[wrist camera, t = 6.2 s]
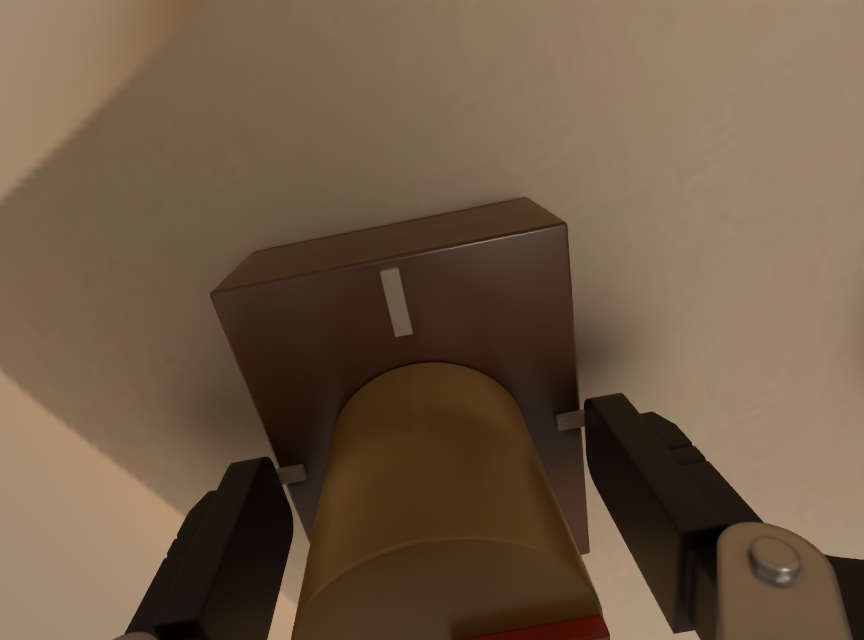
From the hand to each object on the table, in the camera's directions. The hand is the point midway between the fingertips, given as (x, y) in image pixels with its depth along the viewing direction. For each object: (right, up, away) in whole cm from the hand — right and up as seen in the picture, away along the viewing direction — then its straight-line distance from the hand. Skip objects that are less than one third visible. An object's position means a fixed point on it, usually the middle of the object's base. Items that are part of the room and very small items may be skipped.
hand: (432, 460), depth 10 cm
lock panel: (0, +1, +3) cm, 3 cm away
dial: (0, 0, 0) cm, 0 cm away
